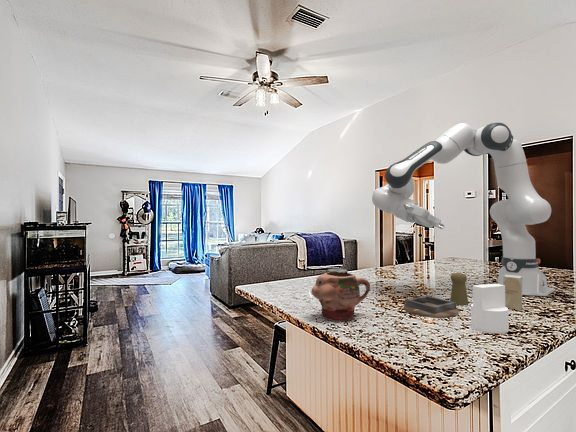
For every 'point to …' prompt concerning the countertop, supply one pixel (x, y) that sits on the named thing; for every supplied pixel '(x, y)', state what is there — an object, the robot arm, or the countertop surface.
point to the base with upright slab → (489, 309)
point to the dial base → (431, 307)
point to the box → (513, 291)
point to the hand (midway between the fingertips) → (441, 224)
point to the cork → (459, 289)
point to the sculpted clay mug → (339, 294)
